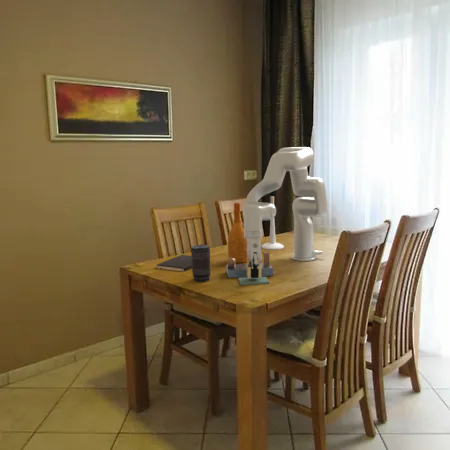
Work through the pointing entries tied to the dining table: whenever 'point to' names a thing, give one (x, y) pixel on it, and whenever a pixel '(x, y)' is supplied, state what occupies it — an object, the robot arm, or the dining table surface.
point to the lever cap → (248, 270)
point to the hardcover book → (177, 263)
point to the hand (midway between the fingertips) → (253, 275)
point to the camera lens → (200, 262)
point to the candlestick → (272, 235)
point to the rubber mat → (253, 281)
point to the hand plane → (240, 269)
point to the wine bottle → (237, 238)
